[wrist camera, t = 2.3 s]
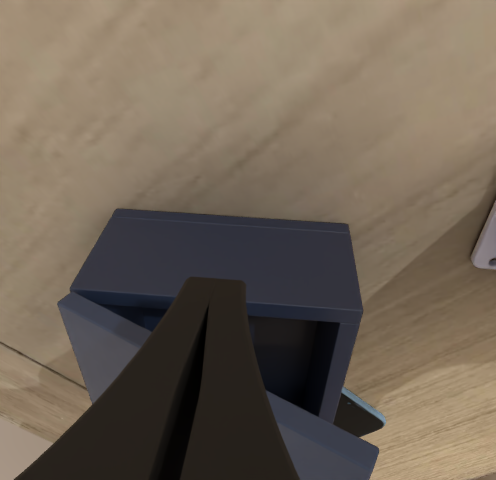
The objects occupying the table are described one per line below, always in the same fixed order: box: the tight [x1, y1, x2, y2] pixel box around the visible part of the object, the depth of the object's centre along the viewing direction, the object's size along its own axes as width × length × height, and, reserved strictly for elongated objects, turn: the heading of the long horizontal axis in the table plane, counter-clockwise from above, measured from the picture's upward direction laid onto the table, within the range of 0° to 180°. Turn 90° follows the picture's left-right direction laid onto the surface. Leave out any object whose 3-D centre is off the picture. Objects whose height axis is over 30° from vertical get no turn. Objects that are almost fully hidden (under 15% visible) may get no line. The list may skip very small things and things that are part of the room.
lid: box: [57, 292, 379, 480], centre depth 19 cm, size 12×16×1 cm
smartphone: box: [333, 387, 386, 437], centre depth 34 cm, size 7×1×15 cm
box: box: [70, 209, 363, 424], centre depth 24 cm, size 12×16×6 cm
